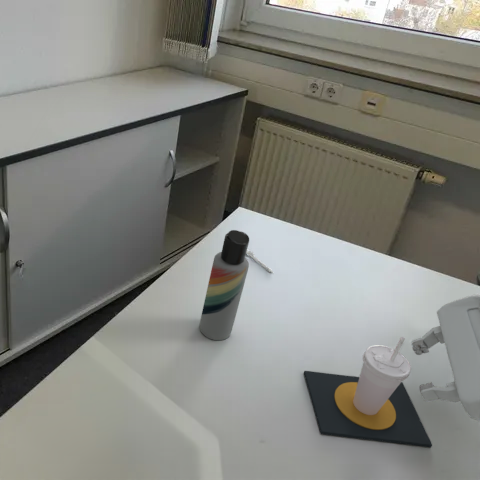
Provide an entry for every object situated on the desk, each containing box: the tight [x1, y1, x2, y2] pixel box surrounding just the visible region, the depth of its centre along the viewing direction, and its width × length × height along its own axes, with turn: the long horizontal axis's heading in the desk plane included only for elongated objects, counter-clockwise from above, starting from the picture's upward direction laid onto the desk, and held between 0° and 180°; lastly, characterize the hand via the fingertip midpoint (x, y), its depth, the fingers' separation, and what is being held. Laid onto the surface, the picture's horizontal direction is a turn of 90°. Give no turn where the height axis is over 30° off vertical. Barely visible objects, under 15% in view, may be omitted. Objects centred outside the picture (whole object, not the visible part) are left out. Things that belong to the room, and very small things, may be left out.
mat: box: [303, 370, 433, 448], centre depth 83 cm, size 16×12×1 cm
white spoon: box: [246, 248, 275, 275], centre depth 115 cm, size 14×4×2 cm, turn 30°
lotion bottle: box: [199, 229, 250, 341], centre depth 90 cm, size 6×6×20 cm
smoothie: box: [353, 336, 412, 415], centre depth 79 cm, size 6×6×14 cm
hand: (417, 370), depth 77 cm, fingers open, 8 cm apart
